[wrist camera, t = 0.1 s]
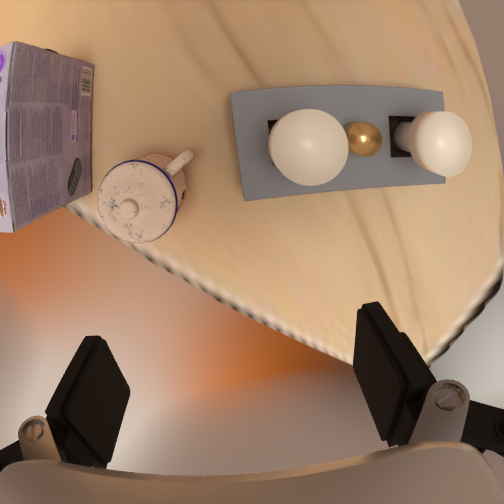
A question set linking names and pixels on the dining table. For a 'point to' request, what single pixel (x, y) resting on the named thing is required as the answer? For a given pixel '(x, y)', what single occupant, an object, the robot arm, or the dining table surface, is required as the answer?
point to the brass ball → (363, 138)
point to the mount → (344, 111)
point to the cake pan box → (42, 132)
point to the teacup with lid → (143, 196)
